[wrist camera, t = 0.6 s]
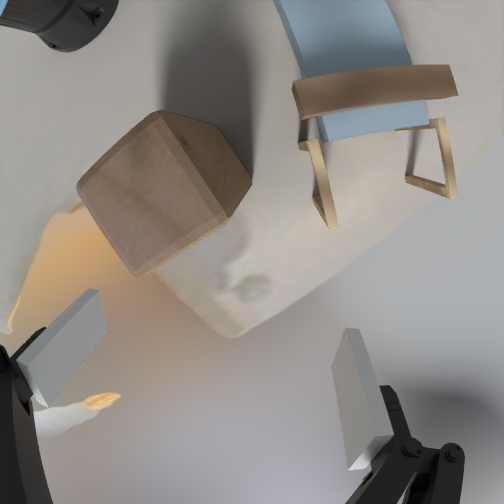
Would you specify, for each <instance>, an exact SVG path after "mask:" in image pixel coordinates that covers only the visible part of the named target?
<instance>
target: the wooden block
mask: <svg viewBox="0 0 504 504" xmlns="http://www.w3.org/2000/svg"><path fill="white" fill-rule="evenodd" d="M251 186H252V179H251V177H250V175H249V174H248V172H247V171H246V169H245V168H244V166H243V165H242V163H241V161H240V160H239V158H238V157H237V155H236V154H235V152H234V151H233V149H232V148H231V146H230V145H229V143H228V142H227V140H226V139H225V137H224V136H223V134H222V133H221V131H220V130H219V128H217V127H216V126H214V125H212V124H209V123H205V122H202V121H199V120H195V119H192V118H188V117H185V116H181V115H177V114H174V113H170V112H166V111H162V110H159V111H156V112H153V113H150V114H149V115H148V116H147V117H145V118H144V119H143V120H142V121H141V122H139V123H138V124H137V125H136V126H135V127H134V128H132V129H131V130H130V131H129V132H128V133H127V134H126V135H124V136H123V137H122V138H121V139H120V140H119V141H118V142H117V143H116V144H115V145H114V146H112V147H111V148H110V149H109V150H108V151H107V152H106V153H105V154H104V155H103V156H102V157H101V158H100V159H99V160H98V161H97V162H96V163H95V164H94V165H93V166H92V167H91V168H90V169H89V170H88V171H87V172H86V173H85V174H84V175H83V176H82V177H81V179H80V180H79V181H78V183H77V186H76V188H77V192H78V194H79V196H80V198H81V199H82V201H83V203H84V204H85V206H86V208H87V209H88V211H89V212H90V214H91V216H92V217H93V219H94V220H95V222H96V223H97V225H98V226H99V228H100V230H101V231H102V233H103V234H104V235H105V237H106V239H107V240H108V242H109V243H110V244H111V246H112V247H113V249H114V250H115V252H116V253H117V255H118V256H119V257H120V259H121V260H122V262H123V263H124V264H125V265H126V267H127V269H128V270H129V271H130V272H131V273H132V274H133V275H134V276H136V277H139V276H143V275H148V274H149V273H151V272H152V271H154V270H155V269H157V268H158V267H160V266H161V265H163V264H164V263H166V262H168V261H169V260H171V259H172V258H174V257H175V256H177V255H178V254H180V253H182V252H183V251H185V250H186V249H188V248H189V247H191V246H193V245H194V244H196V243H197V242H199V241H200V240H202V239H204V238H205V237H207V236H208V235H210V234H212V233H213V232H215V231H216V230H218V229H220V228H221V227H223V226H225V225H226V223H227V222H228V220H229V219H230V218H231V216H232V214H233V213H234V211H235V210H236V208H237V207H238V205H239V204H240V202H241V201H242V199H243V198H244V196H245V195H246V193H247V192H248V190H249V189H250V187H251Z"/></svg>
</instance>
